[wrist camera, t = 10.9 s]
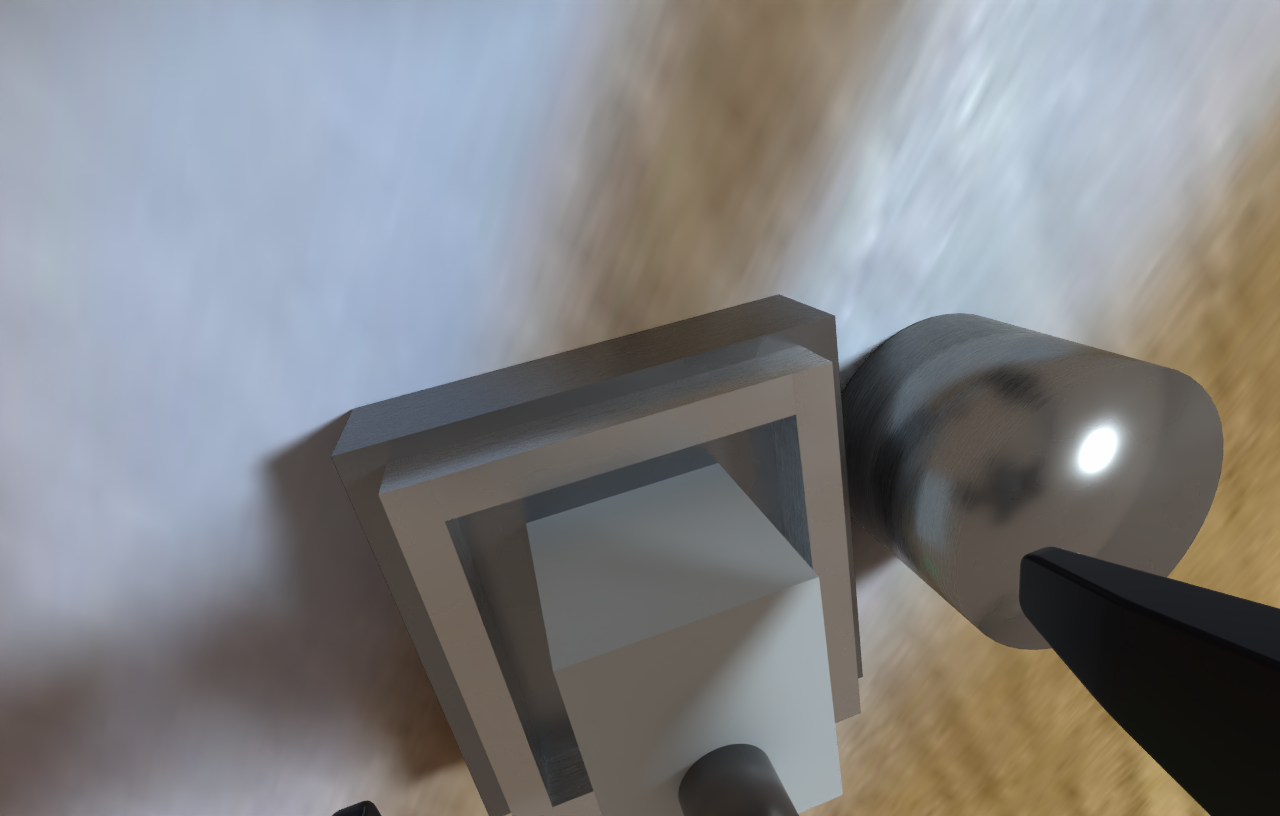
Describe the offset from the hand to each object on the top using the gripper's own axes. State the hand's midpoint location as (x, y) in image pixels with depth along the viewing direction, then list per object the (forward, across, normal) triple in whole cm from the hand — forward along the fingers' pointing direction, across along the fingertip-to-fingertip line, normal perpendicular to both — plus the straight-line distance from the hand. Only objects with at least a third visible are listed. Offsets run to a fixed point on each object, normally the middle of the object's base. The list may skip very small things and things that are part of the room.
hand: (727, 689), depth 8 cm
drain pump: (+8, 0, +4) cm, 9 cm away
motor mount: (+11, -5, +4) cm, 12 cm away
